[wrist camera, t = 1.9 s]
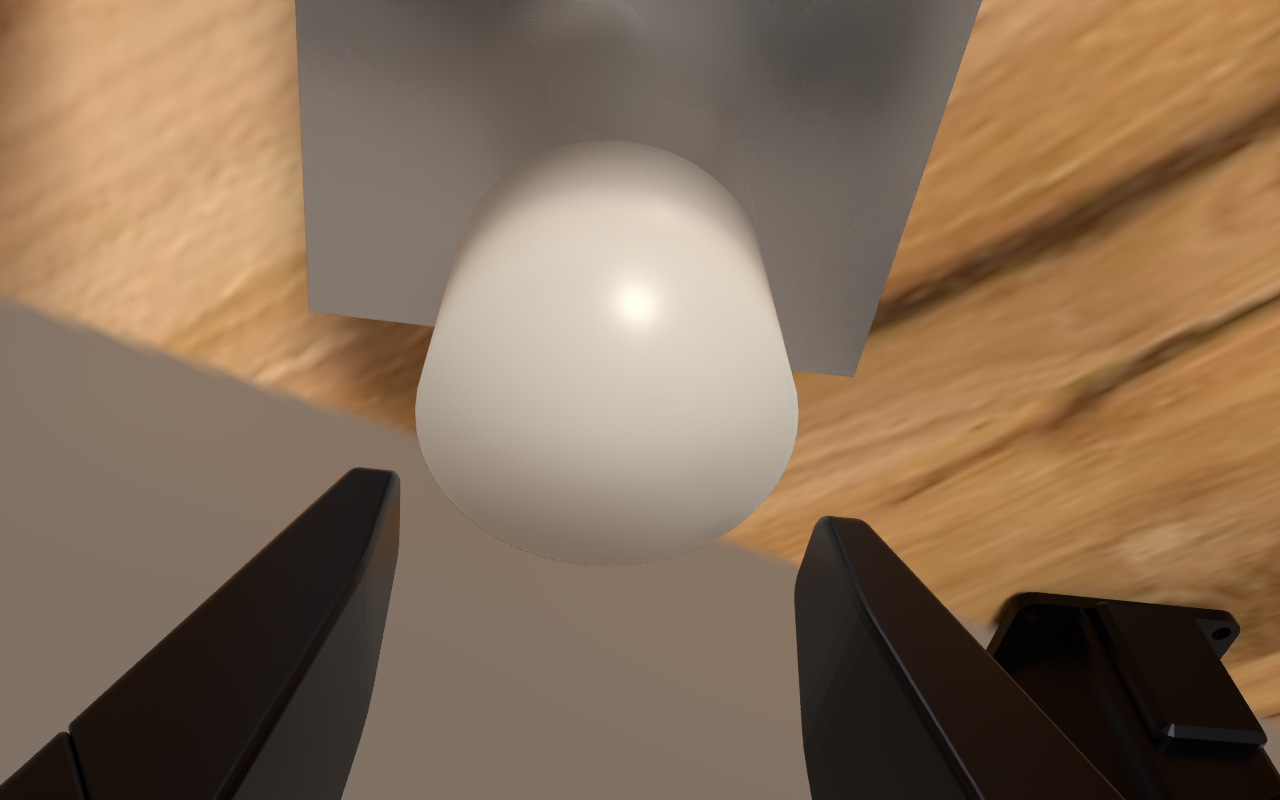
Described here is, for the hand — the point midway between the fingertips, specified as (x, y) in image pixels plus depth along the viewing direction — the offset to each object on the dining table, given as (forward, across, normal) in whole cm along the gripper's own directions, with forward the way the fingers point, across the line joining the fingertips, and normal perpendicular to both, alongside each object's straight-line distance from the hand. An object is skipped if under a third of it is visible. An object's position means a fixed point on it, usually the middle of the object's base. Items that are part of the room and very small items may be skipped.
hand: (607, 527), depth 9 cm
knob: (+5, 0, 0) cm, 5 cm away
